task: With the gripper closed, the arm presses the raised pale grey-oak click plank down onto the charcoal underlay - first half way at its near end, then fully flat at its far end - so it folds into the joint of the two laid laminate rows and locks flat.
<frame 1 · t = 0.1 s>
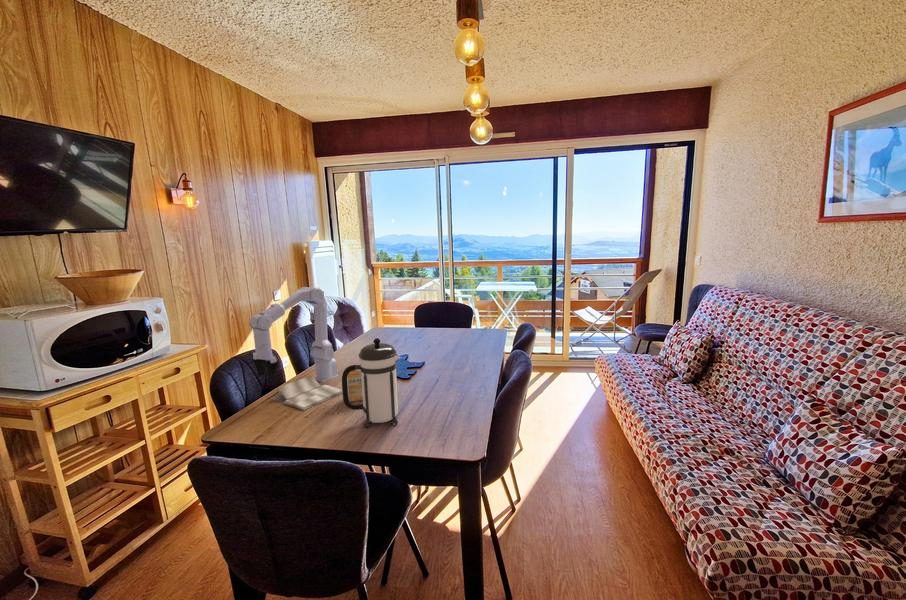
hand: (266, 376, 148), 10 cm above the table, fingers open, 7 cm apart
loose plank: (299, 387, 154), point 3 cm above the table, hinge at 32.0°
supplement box: (359, 399, 148), on the table
coffee press: (377, 421, 129), on the table
floor panel: (309, 396, 151), on the table
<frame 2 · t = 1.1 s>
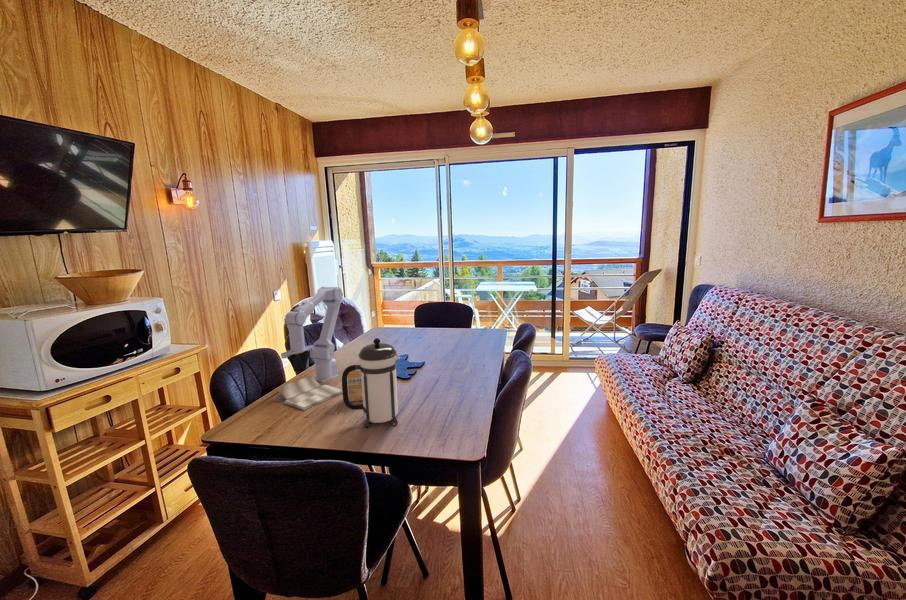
hand: (299, 369, 157), 9 cm above the table, fingers open, 3 cm apart
nothing on the table moved.
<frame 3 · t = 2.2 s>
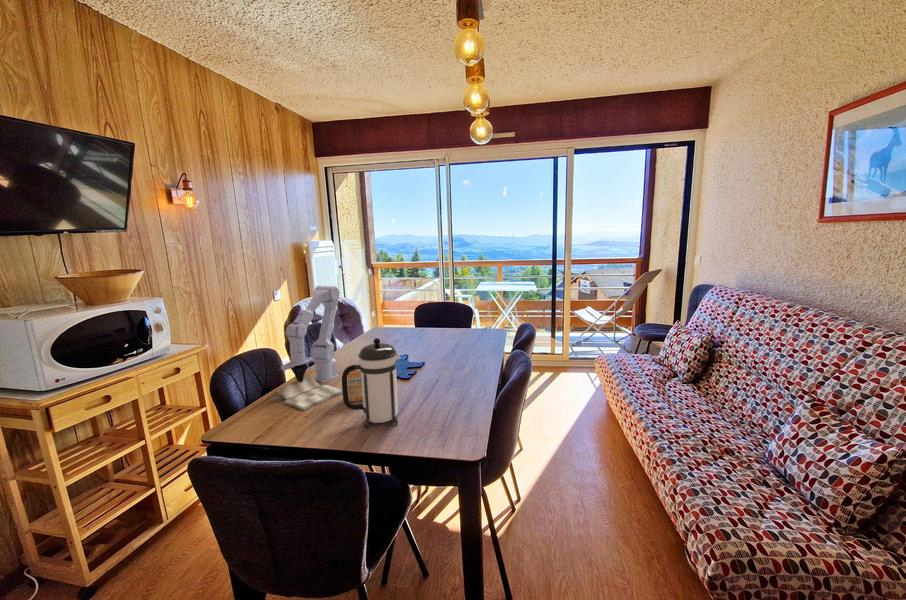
hand: (299, 381, 158), 4 cm above the table, fingers closed, pressing on loose plank
loose plank: (299, 388, 154), point 3 cm above the table, hinge at 26.8°, touching gripper
everything else where it was.
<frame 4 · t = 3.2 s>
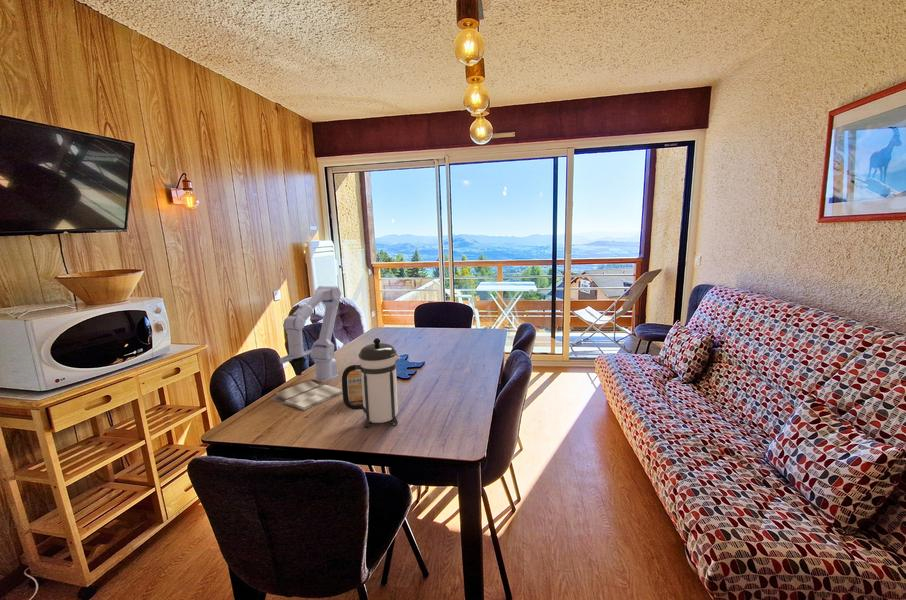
hand: (298, 374, 156), 7 cm above the table, fingers closed
loose plank: (298, 390, 155), point 2 cm above the table, hinge at 8.8°
everything else where it was.
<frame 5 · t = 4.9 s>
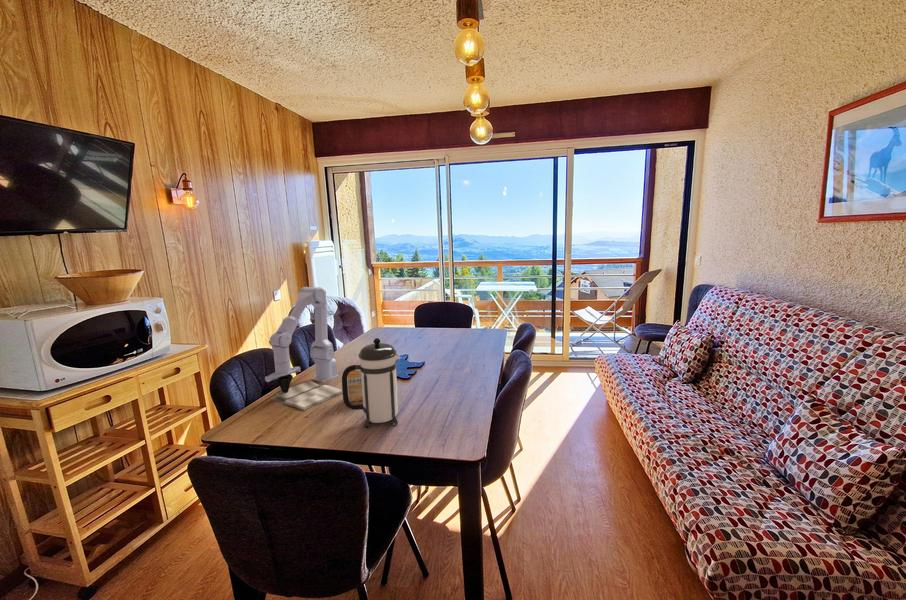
hand: (285, 392, 151), 2 cm above the table, fingers closed, pressing on loose plank
loose plank: (298, 390, 155), point 1 cm above the table, hinge at 7.1°, touching gripper
everything else where it was.
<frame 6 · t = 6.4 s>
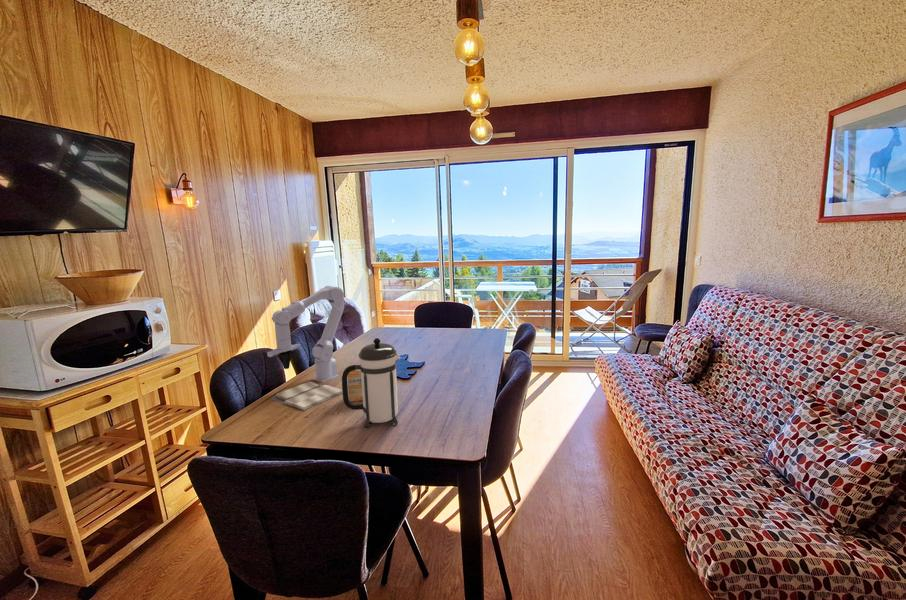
hand: (286, 368, 159), 9 cm above the table, fingers closed
loose plank: (298, 390, 155), point 1 cm above the table, hinge at 3.7°
everything else where it was.
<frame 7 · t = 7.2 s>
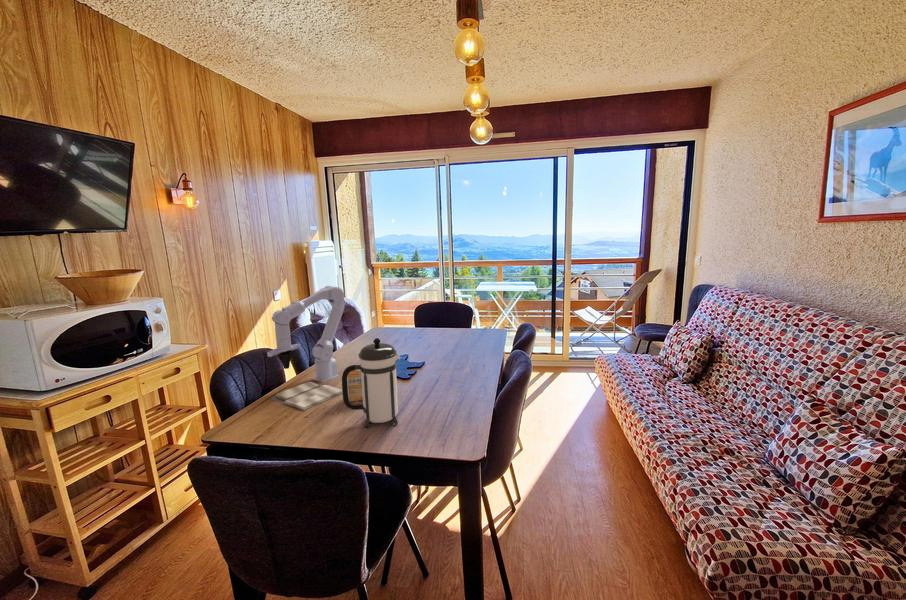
hand: (286, 368, 159), 9 cm above the table, fingers closed
nothing on the table moved.
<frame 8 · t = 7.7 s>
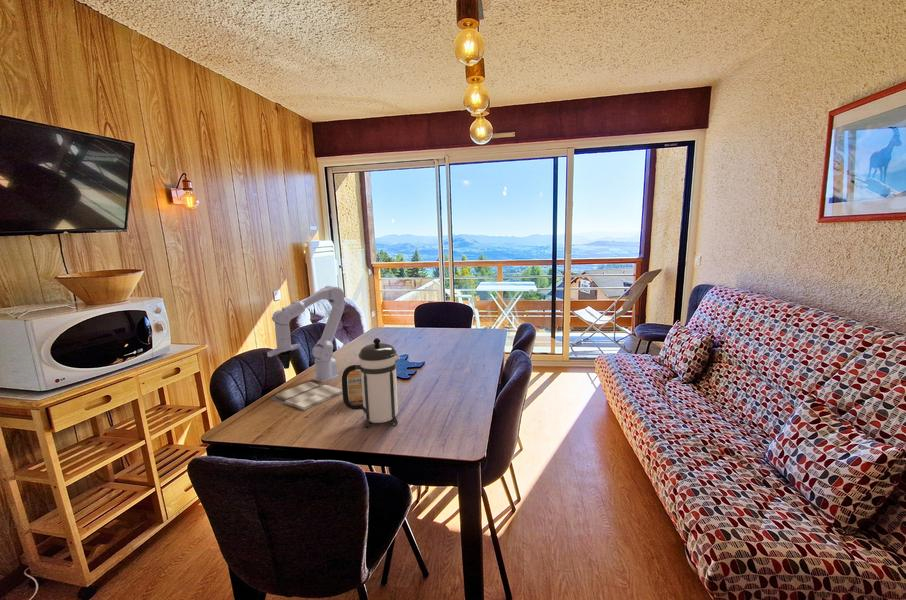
hand: (286, 368, 159), 9 cm above the table, fingers closed
nothing on the table moved.
at the end: loose plank at +4° (first picture: +32°) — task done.
